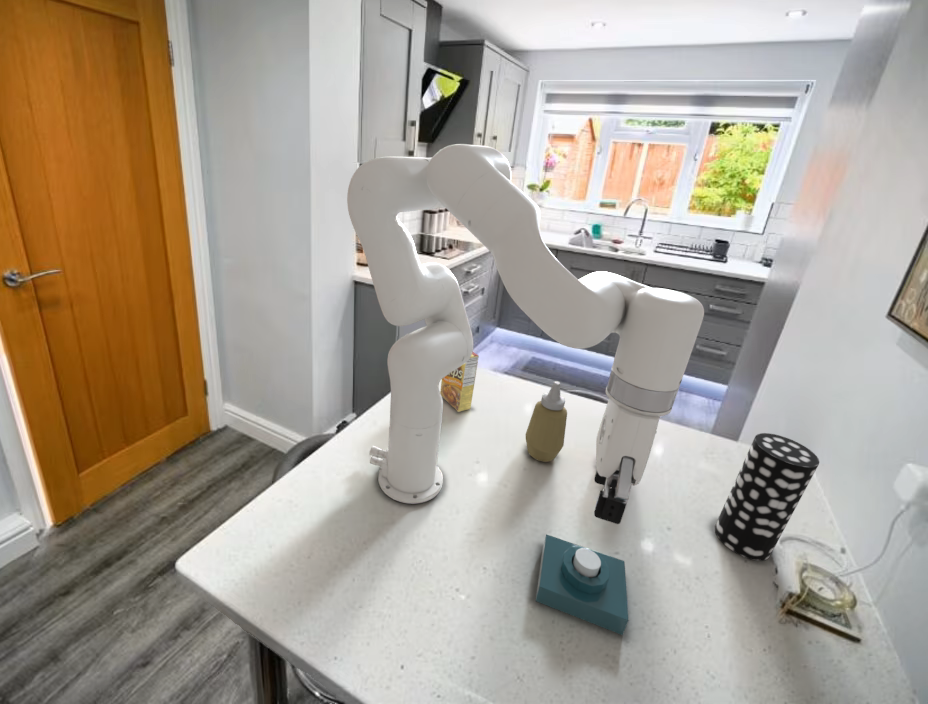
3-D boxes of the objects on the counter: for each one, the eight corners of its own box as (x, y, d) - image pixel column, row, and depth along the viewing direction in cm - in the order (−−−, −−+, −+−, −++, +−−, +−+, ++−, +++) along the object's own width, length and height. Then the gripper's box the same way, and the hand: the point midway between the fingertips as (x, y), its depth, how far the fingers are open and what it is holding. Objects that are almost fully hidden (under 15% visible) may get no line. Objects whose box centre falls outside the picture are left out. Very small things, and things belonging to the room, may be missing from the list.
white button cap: (572, 572, 64) (574, 563, 63) (573, 552, 67) (575, 544, 67) (598, 581, 63) (601, 573, 62) (598, 561, 66) (600, 553, 66)
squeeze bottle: (564, 467, 92) (583, 394, 85) (526, 464, 92) (542, 391, 85) (554, 443, 100) (570, 374, 93) (519, 440, 100) (533, 371, 93)
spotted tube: (754, 567, 72) (803, 473, 65) (704, 529, 79) (744, 440, 72) (779, 550, 76) (829, 458, 69) (730, 515, 83) (770, 428, 75)
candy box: (439, 395, 115) (444, 342, 109) (452, 391, 117) (458, 340, 111) (458, 412, 108) (465, 357, 102) (471, 409, 110) (479, 354, 104)
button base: (535, 601, 64) (541, 577, 62) (542, 548, 73) (548, 525, 71) (622, 635, 61) (632, 611, 59) (619, 575, 69) (627, 552, 67)
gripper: (606, 354, 62) (579, 455, 69) (609, 417, 47) (575, 539, 54) (664, 366, 60) (630, 469, 67) (687, 437, 45) (641, 562, 52)
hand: (606, 500), depth 60 cm, fingers open, 6 cm apart
